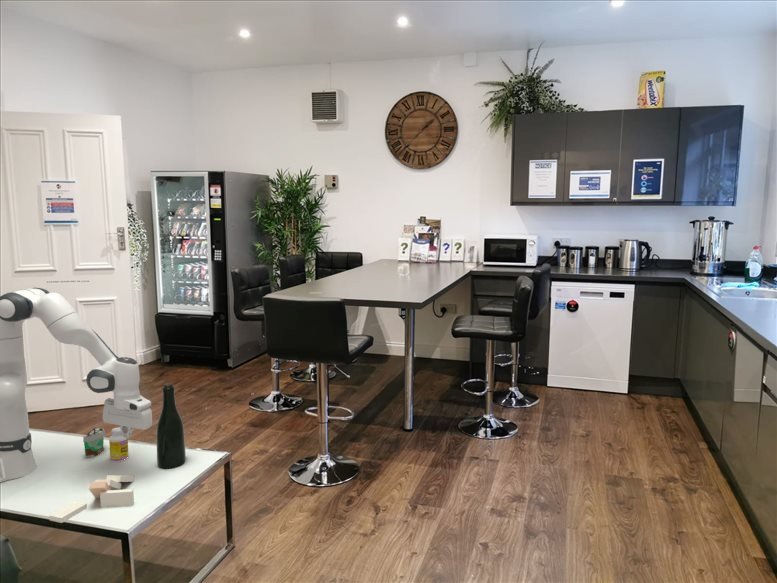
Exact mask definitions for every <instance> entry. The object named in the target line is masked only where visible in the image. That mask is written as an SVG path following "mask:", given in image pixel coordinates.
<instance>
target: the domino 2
mask: <svg viewBox="0 0 777 583" xmlns="http://www.w3.org/2000/svg"><path fill="white" fill-rule="evenodd" d="M88 487H89V488H88V490H89V491H90V493H91V494H92V496H93V497H94V498H95V499H100V493H101V492H102V491H107V490H111V489H110V487H109V485H108V484H107V482H106V481H104V482H89V485H88Z"/></svg>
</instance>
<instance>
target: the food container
mask: <svg viewBox="0 0 777 583" xmlns="http://www.w3.org/2000/svg"><path fill="white" fill-rule="evenodd" d="M105 435H106V431H105V429H104V428H103V427H101V426H92V430H91V431H89V432H88V433H87V435H86V436H83V439H82V440H83V441H82V442H83V445H84V453H85V454H84V456H85V459H90V458H94V457H96V456H97V457H98V456H99V455H101V454H102V453H103V452H104V440H105ZM102 451H103V452H102ZM101 452H102V453H101ZM100 453H101V454H100ZM98 454H99V455H98Z"/></svg>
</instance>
